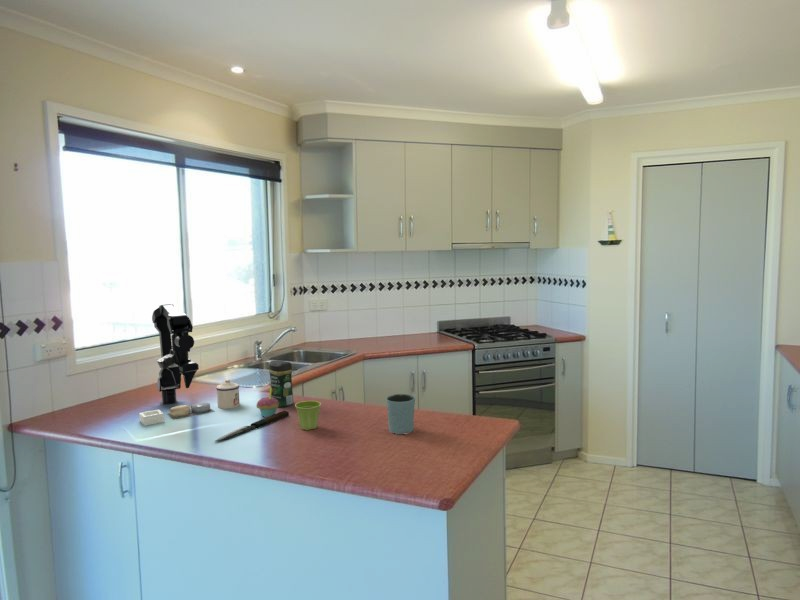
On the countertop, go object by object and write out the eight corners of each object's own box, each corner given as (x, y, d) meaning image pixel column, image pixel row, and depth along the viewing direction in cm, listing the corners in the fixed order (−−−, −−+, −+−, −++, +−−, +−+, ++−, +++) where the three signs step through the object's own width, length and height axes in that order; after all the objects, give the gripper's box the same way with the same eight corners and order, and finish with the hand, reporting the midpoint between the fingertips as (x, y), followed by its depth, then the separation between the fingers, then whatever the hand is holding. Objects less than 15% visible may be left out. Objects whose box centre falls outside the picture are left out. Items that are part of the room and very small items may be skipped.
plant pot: (326, 424, 205) (325, 401, 204) (314, 432, 196) (313, 408, 195) (303, 422, 208) (303, 399, 207) (290, 430, 199) (290, 406, 198)
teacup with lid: (238, 409, 227) (237, 381, 225) (215, 411, 225) (213, 383, 224) (242, 402, 238) (241, 375, 237) (220, 403, 237) (219, 376, 236)
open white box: (139, 423, 212) (139, 412, 211) (159, 419, 216) (158, 409, 215) (144, 427, 206) (143, 417, 206) (164, 423, 210) (163, 413, 210)
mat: (166, 415, 221) (166, 413, 221) (206, 408, 230) (206, 406, 230) (173, 421, 213) (173, 419, 213) (215, 413, 222) (215, 411, 222)
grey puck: (188, 410, 224) (188, 404, 224) (206, 406, 229) (206, 401, 229) (194, 414, 219) (194, 408, 219) (213, 410, 223) (212, 405, 223)
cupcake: (283, 413, 220) (282, 383, 219) (270, 419, 212) (269, 388, 211) (266, 411, 223) (265, 382, 222) (252, 417, 216) (251, 387, 215)
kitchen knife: (278, 409, 219) (288, 411, 217) (278, 415, 220) (288, 416, 217) (208, 437, 188) (219, 439, 186) (209, 443, 189) (219, 445, 186)
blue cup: (412, 425, 202) (411, 392, 201) (418, 434, 192) (418, 400, 191) (384, 427, 200) (383, 395, 199) (390, 437, 190) (389, 402, 189)
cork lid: (168, 414, 220) (167, 407, 219) (186, 410, 224) (186, 404, 224) (173, 418, 214) (173, 411, 214) (192, 414, 218) (192, 408, 218)
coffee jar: (267, 404, 233) (265, 361, 232) (282, 400, 239) (280, 357, 238) (281, 408, 227) (279, 363, 225) (296, 404, 233) (295, 360, 231)
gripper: (149, 347, 218) (152, 386, 219) (168, 352, 205) (171, 394, 206) (178, 343, 226) (180, 381, 227) (198, 348, 212) (200, 388, 214)
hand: (182, 386), depth 218 cm, fingers open, 9 cm apart
